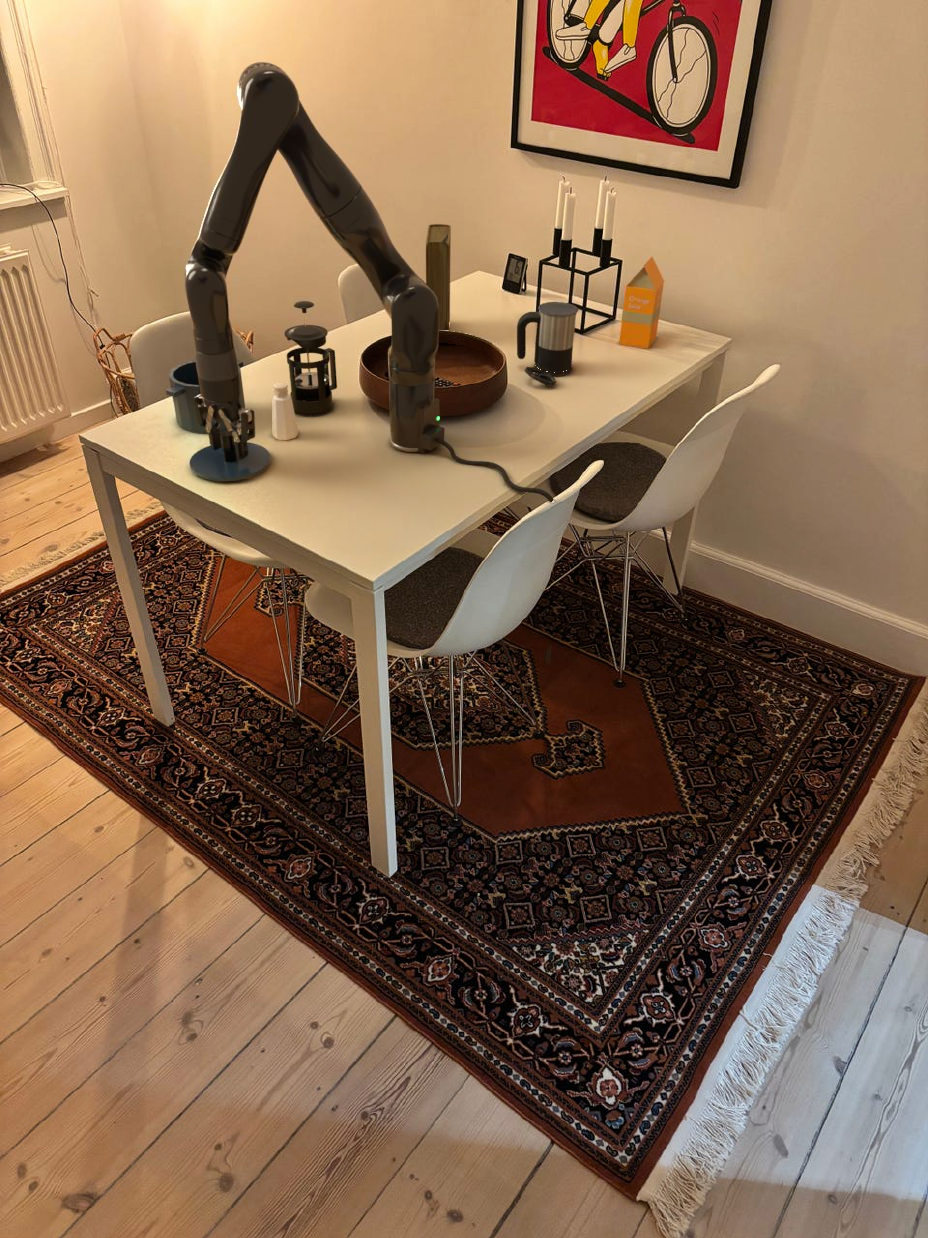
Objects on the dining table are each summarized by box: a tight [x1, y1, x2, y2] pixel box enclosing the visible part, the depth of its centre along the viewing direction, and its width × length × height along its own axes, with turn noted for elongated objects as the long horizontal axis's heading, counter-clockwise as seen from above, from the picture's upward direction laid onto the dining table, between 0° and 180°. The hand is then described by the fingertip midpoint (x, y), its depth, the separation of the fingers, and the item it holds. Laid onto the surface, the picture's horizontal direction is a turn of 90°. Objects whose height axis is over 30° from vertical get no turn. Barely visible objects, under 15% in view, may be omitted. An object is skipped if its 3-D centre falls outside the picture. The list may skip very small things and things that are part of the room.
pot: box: [165, 359, 247, 435], centre depth 203 cm, size 14×20×10 cm
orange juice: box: [618, 256, 665, 349], centre depth 241 cm, size 8×9×20 cm
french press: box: [283, 300, 338, 417], centre depth 205 cm, size 12×9×23 cm
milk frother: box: [516, 301, 579, 387], centre depth 224 cm, size 14×16×15 cm
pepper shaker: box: [271, 382, 299, 441], centre depth 198 cm, size 5×5×11 cm
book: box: [425, 223, 452, 331], centre depth 241 cm, size 16×6×25 cm, turn 179°
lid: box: [189, 431, 272, 482], centre depth 188 cm, size 16×16×7 cm
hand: (229, 452), depth 189 cm, fingers open, 6 cm apart
